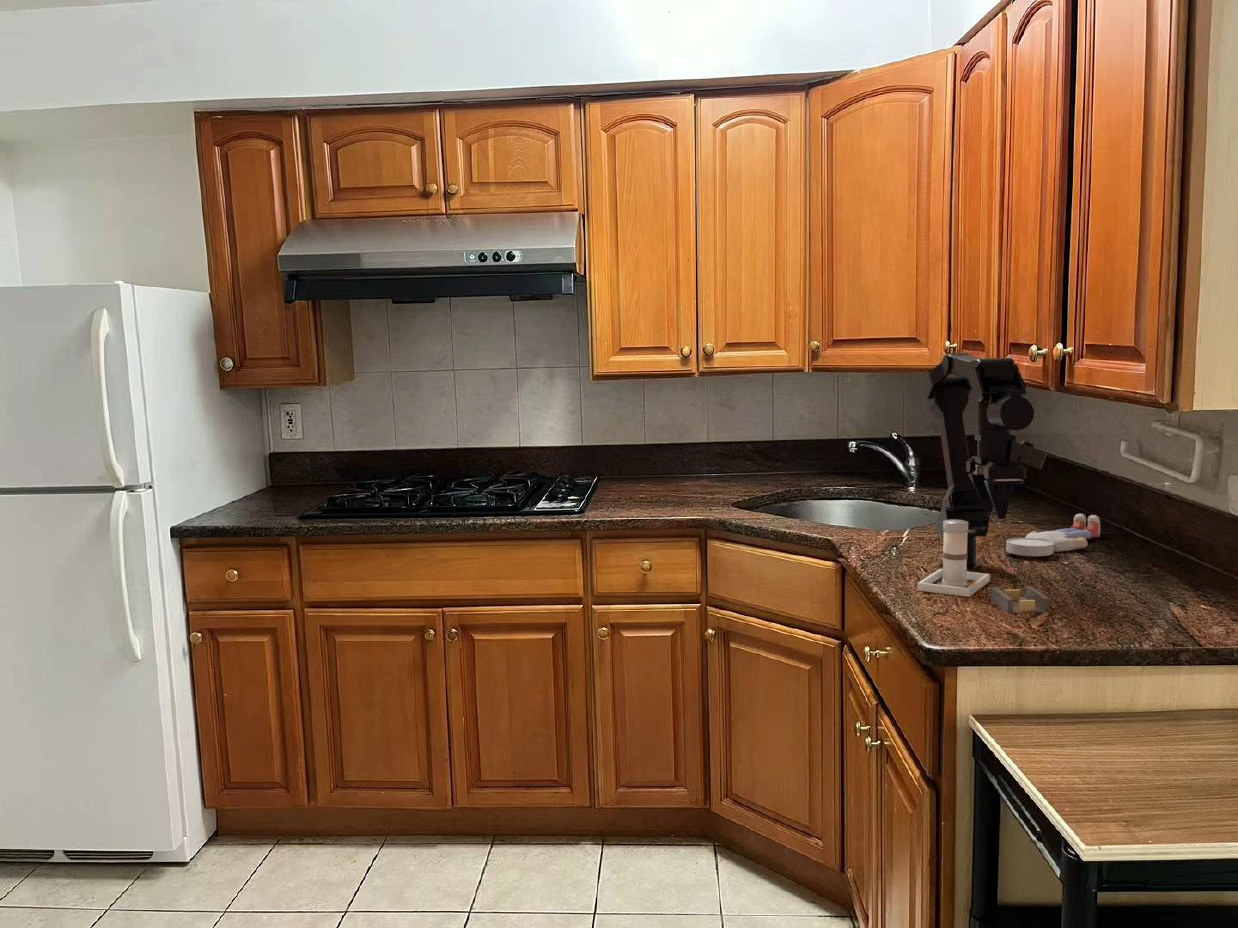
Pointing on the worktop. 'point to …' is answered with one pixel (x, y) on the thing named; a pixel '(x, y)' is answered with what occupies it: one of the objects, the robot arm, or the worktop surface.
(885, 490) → the worktop surface
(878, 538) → the worktop surface
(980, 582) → the parts tray
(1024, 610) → the fuse holder
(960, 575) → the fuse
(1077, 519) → the toy
